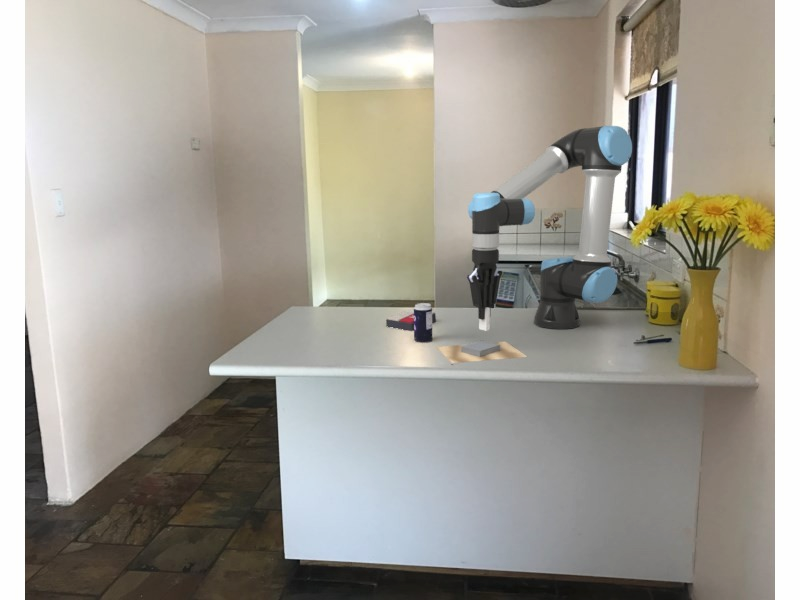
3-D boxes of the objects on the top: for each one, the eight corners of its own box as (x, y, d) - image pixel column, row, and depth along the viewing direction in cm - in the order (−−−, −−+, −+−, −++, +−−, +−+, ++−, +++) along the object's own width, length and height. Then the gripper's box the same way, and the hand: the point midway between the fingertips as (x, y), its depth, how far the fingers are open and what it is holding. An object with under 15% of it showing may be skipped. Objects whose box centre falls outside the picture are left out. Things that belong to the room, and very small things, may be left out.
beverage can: (426, 338, 187) (426, 302, 184) (435, 343, 182) (435, 305, 179) (410, 341, 184) (410, 304, 182) (419, 345, 179) (419, 307, 177)
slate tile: (481, 340, 175) (461, 346, 169) (500, 344, 170) (479, 351, 164) (481, 345, 176) (461, 352, 170) (500, 350, 171) (479, 357, 165)
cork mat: (505, 343, 180) (505, 341, 180) (527, 358, 165) (527, 356, 165) (436, 348, 176) (436, 346, 175) (451, 365, 160) (451, 363, 160)
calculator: (385, 317, 202) (410, 307, 213) (386, 329, 203) (410, 318, 214) (411, 321, 195) (435, 310, 207) (412, 334, 196) (436, 322, 208)
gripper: (489, 245, 172) (488, 323, 177) (459, 249, 164) (459, 331, 168) (510, 247, 167) (508, 327, 171) (480, 251, 158) (479, 336, 163)
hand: (484, 329), depth 170 cm, fingers closed
